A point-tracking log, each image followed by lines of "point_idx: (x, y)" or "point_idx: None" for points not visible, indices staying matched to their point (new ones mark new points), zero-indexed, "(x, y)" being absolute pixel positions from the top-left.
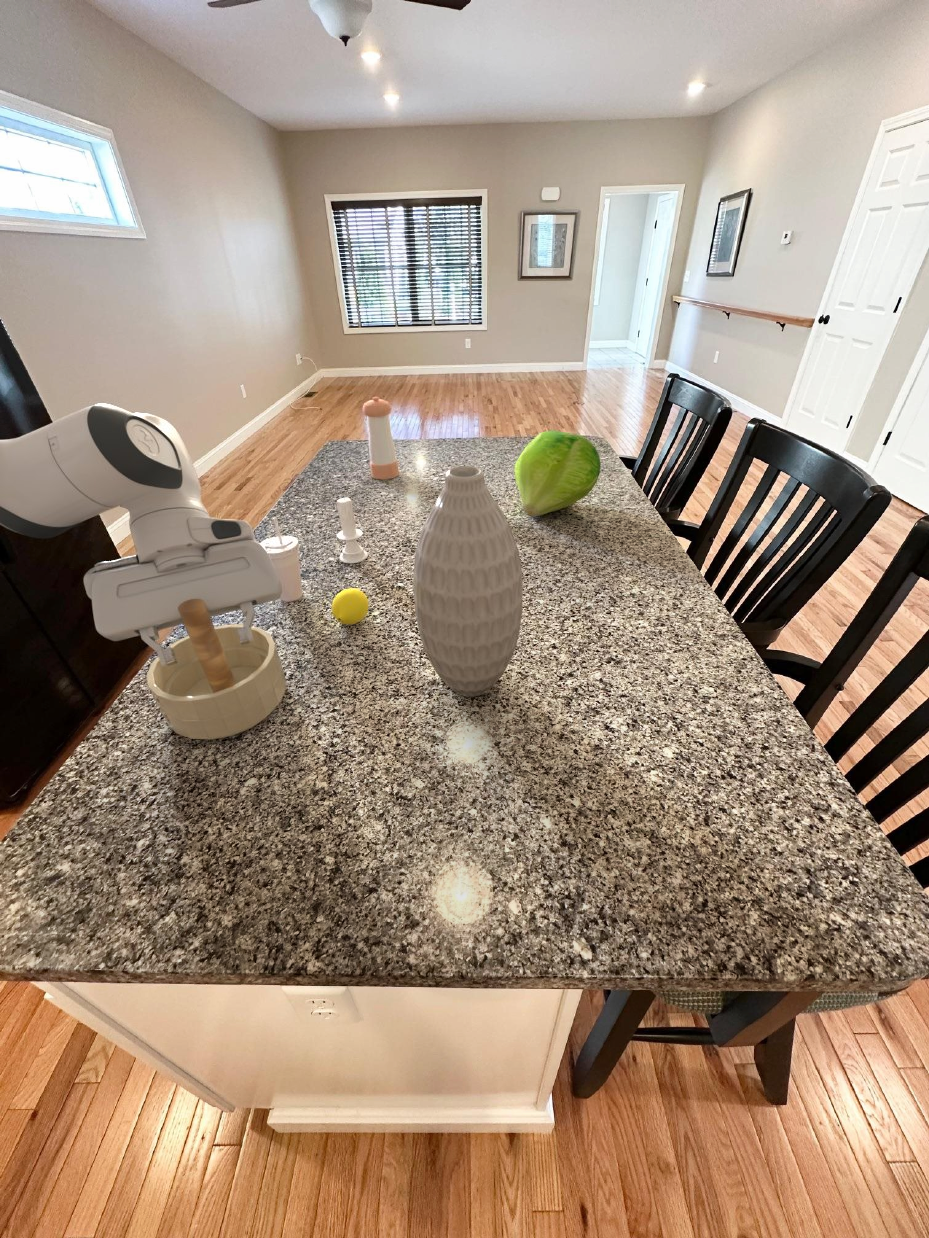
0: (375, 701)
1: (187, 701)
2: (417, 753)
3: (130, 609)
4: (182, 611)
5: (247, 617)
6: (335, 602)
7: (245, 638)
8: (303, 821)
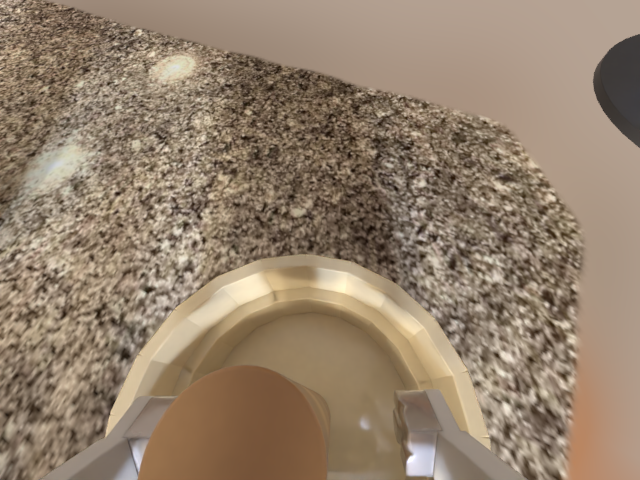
0: (85, 280)
1: (360, 266)
2: (109, 175)
3: None
4: (296, 396)
5: (71, 470)
6: None
7: (158, 397)
8: (256, 147)
